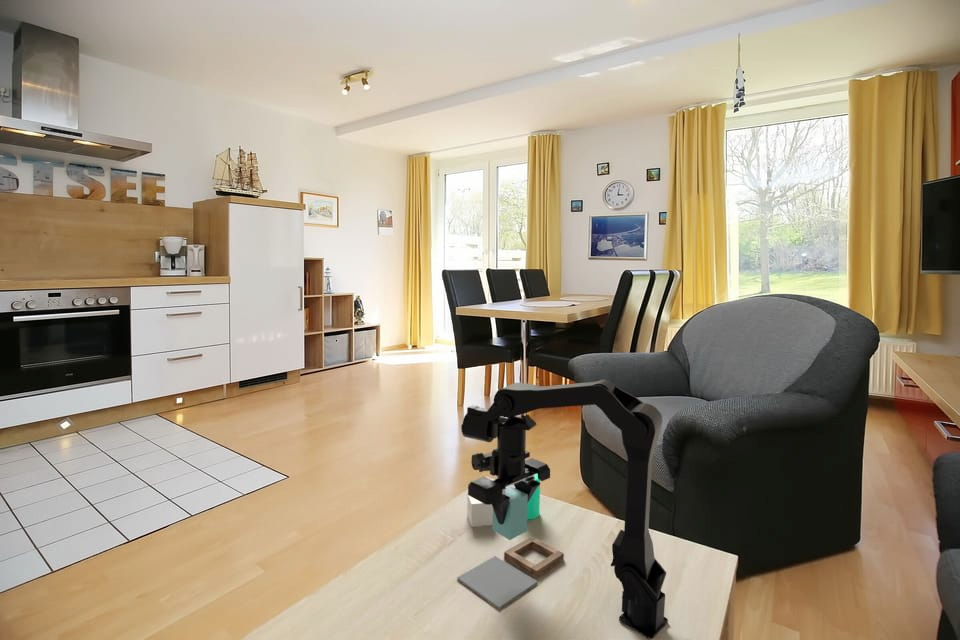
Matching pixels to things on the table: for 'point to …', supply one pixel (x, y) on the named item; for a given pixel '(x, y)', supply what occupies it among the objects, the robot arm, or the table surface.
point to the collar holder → (528, 566)
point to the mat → (497, 582)
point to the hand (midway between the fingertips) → (509, 519)
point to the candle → (534, 502)
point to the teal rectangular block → (513, 515)
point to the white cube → (479, 512)
